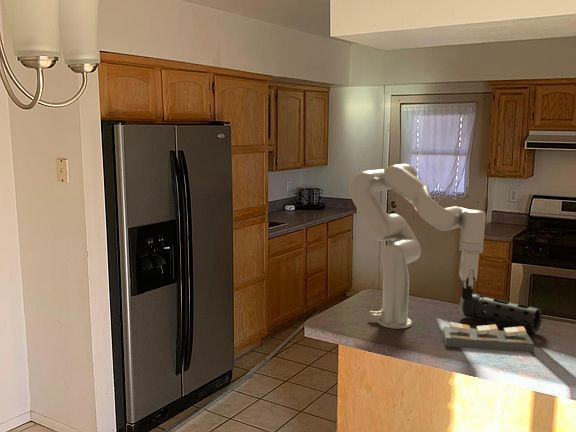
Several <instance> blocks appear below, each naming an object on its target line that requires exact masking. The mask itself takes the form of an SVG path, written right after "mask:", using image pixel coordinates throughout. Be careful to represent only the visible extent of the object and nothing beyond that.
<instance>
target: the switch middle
mask: <svg viewBox="0 0 576 432" xmlns="http://www.w3.org/2000/svg"><path fill="white" fill-rule="evenodd" d="M476 329H477V332H478V334H490V333H498V330H499V328H498V326H497V324H487V325H485V324H483V325H477V326H476Z"/></svg>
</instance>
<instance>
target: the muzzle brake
mask: <svg viewBox="0 0 576 432" xmlns="http://www.w3.org/2000/svg"><path fill="white" fill-rule="evenodd" d="M458 304H459V305H458V309H459V310H458V311H459V313H460V314H461V315H463V316H464V317H466V318H469V319H473V320H476V321H477V322H479V323H483V324H487V323H490V324H492V325H494V324H496V326H497V325H498V326H500V327H501V328H509V327H520V326H523V327H524V328H525V330H526V332H527V334H528V335H531V336H534V335H536V334H537V332H538V331H539V329H540V327H541V324H542V318H543V314H542V310H541V308H538V307H534V306H528V305H524V304H519V303H516V302H515V303H514V302H511V301H507V300H502V299H497V298H493V297H488V296H483V295H481V294H478V293H474V292H473V295H472V300H465V299H462V296H461V297H460V300H459V303H458Z"/></svg>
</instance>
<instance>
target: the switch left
mask: <svg viewBox="0 0 576 432" xmlns="http://www.w3.org/2000/svg"><path fill="white" fill-rule="evenodd" d="M449 327H450V329H451V330H454V331H459V332H464V333H470V331H471V329H472V328H471V326H470V325H469V324H463V323H460V322H459V323H458V322H453V321H450V322H449Z"/></svg>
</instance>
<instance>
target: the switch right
mask: <svg viewBox="0 0 576 432" xmlns="http://www.w3.org/2000/svg"><path fill="white" fill-rule="evenodd" d="M503 331H504V333H505V334H506V336H517V335H527V334H526V330H525V328H524V327H523V326H520V327H509V328H506V327H503Z"/></svg>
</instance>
